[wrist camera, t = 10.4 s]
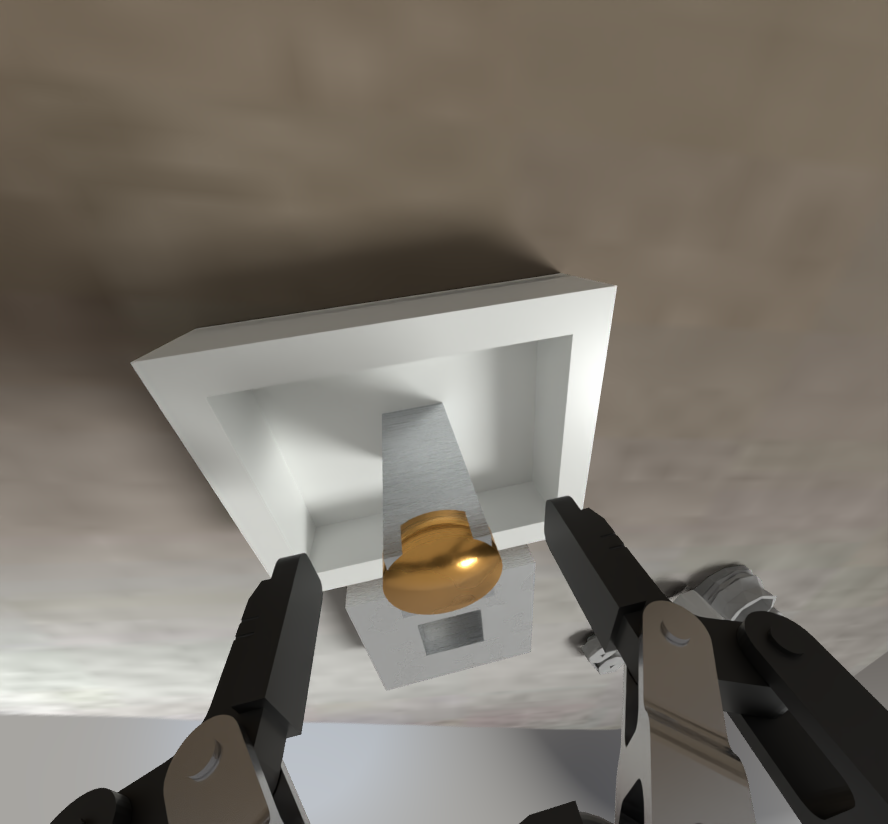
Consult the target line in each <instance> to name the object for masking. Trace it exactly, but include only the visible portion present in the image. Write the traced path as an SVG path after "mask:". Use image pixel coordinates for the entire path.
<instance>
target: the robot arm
mask: <svg viewBox="0 0 888 824" xmlns="http://www.w3.org/2000/svg"><path fill="white" fill-rule="evenodd" d="M544 535H545V539H546V542H547V545H548V547H549V549H550V551H551V553H552V555H553V556H554V558H555V560H556V562H557V564H558V566H559V568H560V570H561V571H562V573H563V575H564V577H565V579H566V581H567V583H568V584H569V586H570V588H571V590H572V592H573V594H574V596H575V597H576V599H577V601H578V603H579V605H580V607H581V609H582V611H583V612H584V614H585V616H586V618H587V620H588V622H589V624H590V625H591V627H592V629H593V631H594V633H595V635H596V637H597V639H598V640H599V642H600V644H601V646H602V648H603V650H604V652H605V653H607V652H611V651H615V650H618V652H619V654H620V655H621V657H622V659H623V661H624V673H623V703H622V733H621V735H622V736H621V751H620V758H619V763H618V770H617V781H616V799H615V824H756V821H755V816H754V810H753V805H752V799H751V794H750V789H749V784H748V780H747V776H746V773H745V770H744V767H743V765H742V762H741V761H740V759H739V757H738V756H737V755H736V754H734V753H733V752H732V750H731V748H730V745H729V742H728V739H727V733H726V727H725V720H724V714H723V711H725V712H727V713H728V715H729V716H730V718H731V719H732V720H733V722H734V723H735V725H736V726H737V728H738V729H739V731H740V732H741V734H742V735H743V737H744V738H745V740H746V741H747V743H748V744H749V746H750V747H751V749H752V750H753V752H754V753H755V755H756V756H757V758H758V759H759V761H760V762H761V763H762V765H763V767H764V768H765V770H766V771H767V772H768V774H769V775H770V777H771V778H772V780H773V781H774V783H775V784H776V786H777V787H778V789H779V790H780V792H781V793H782V794H783V796H784V798H785V799H786V801H787V802H788V804H789V805H790V807H791V808H792V809H793V811H794V813H795V814H796V815H797V817H798V819H799V820H800V822H801V823H802V824H888V711H887V710H886V709H885V708H884V707H883V706H882V705H881V704H880V703H879V702H878V701H877V700H876V699H875V698H874V697H873V696H872V695H871V694H870V693H869V692H868V691H867V690H866V689H865V688H864V687H863V686H862V685H861V684H860V683H859V682H858V681H857V680H856V679H855V678H854V677H853V676H852V675H851V674H850V673H849V672H848V671H847V670H846V669H845V668H844V667H843V666H842V665H841V664H840V663H839V662H838V661H837V660H836V659H835V658H834V657H833V656H832V655H831V654H830V653H829V652H828V651H827V650H826V649H825V648H824V647H823V646H822V645H821V644H820V643H819V642H818V641H817V640H816V639H815V638H814V637H813V636H812V635H810V634H809V633H808V632H807V631H806V630H805V629H803V628H802V627H801V626H799V625H798V624H796V623H795V622H793V621H791V620H789V619H788V618H786V617H783V616H781V615H779V614H776V613H772V612H768V611H755V612H751V613H750V614H748V615H747V617H746V618H745V620H744V621H743V622H741V621H732V620H722V619H713V618H705V617H700V616H697V615H694V614H692V613H691V612H690V611H688V610H687V609H685V608H684V607H682V606H680V605H678V604H675V603H673V602H671V601H670V600H669V599H668V598H667V597H666V596H665V595H664V594H663V593H662V592H661V591H660V589H659V588H658V587H657V585H656V584H655V583H654V582H653V580H652V579H651V578H650V577H649V575H648V574H647V573H646V571H645V570H644V569H643V568H642V566H641V565H640V564H639V562H638V561H637V560H636V559H635V557H634V556H633V555H632V554H631V552H630V551H629V550H628V548H627V547H625V546H624V543H623V542H622V541H621V540H620V538H619V537H618V536H617V535H615V532H614V531H613V529H612V528H611V527H610V526H609V524H608V523H607V522H606V520H605V519H604V518H603V517H601V516H600V515H598V514H597V513H595V512H594V511H593V510H591V509H590V508H586V509H582V510H581V509H580V508H579V507H578V505H577V504H576V502H575V501H574V500H573V498H572V497H570V496H563V497H558V498H554V499H549V500H547V501H546V506H545V520H544ZM322 596H323V593H322V584H321V580H320V578H319V576H318V574H317V573H316V571H315V569H314V567H313V565H312V563H311V561H310V559H309V557H308V556H307V554H306V553H301V554H296V555H292V556H287V557H283V558H279V559H278V560H277V562H276V564H275V567H274V570H273V574H272V577H271V579H268V580H264V581H261V583H260V584H259V585H258V587H257V588H256V590H255V591H254V593H253V594H252V595H251V597H250V598H249V600H248V602H247V605H246V608H245V611H244V614H243V616H242V619H241V620H242V622H241V623H240V625H239V628H238V630H237V633H236V639H235V640H234V642H233V644H232V647H231V650H230V653H229V655H228V658H227V661H226V664H225V667H224V669H223V672H222V675H221V678H220V681H219V683H218V686H217V689H216V692H215V695H214V697H213V700H212V703H211V706H210V708H209V711H208V713H207V715H206V717H205V719H204V721H203V722H202V724H201V725H199V726H198V727H197V728H196V729H195V730H194V731H193V732H192V733H191V734H190V735H189V736H188V737H187V738H186V739H185V741H184V742H183V743H182V745H181V746H180V748H179V749H178V751H177V752H176V754H175V755H174V756H173V757H172V758H170V759H169V760H167V761H166V762H165V763H163V764H162V765H160V766H159V767H157V768H155V769H154V770H152V771H151V772H149V773H148V774H146V775H144V776H143V777H141V778H140V779H138V780H136V781H135V782H133V783H132V784H130V785H128V786H127V787H125V788H124V789H122V790H121V791H119V792H114V791H112V790H109V789H106V788H98V789H94V790H92V791H90V792H87V793H86V794H84V795H82V796H81V797H79V798H77V799H76V800H75V801H74V802H72V803H71V804H70V805H68V806H67V807H66V808H65V809H64V810H63V811H62V812H61V813H60V814H59V815H58V816H57V817H56V818H55V819H54V820H53V821H52V822H51V823H50V824H310V822H309V819H308V817H307V815H306V813H305V810H304V808H303V806H302V803H301V801H300V799H299V796H298V794H297V791H296V789H295V787H294V784H293V782H292V780H291V777H290V775H289V773H288V771H287V768H286V766H285V764H284V761H283V760H282V758H283V752H284V747H285V742H286V738H289V737H293V736H297V735H301V731H302V726H303V720H304V713H305V707H306V701H307V694H308V688H309V681H310V675H311V669H312V662H313V656H314V650H315V643H316V637H317V630H318V624H319V618H320V611H321V605H322ZM520 824H613V823H611V822H609V821H607V820H605V819H603V818H601V817H599V816H595V815H592V814H589V813H586V812H579V810H578V807H577V805H576V801H572V802H569V803H566V804H563V805H560V806H557V807H554V808H550V809H547V810H544V811H541V812H538V813H535V814H532V815H529V816H528V817H527V818H525V819H524V820H523V821H522V822H521V823H520Z"/></svg>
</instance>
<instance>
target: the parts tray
mask: <svg viewBox="0 0 888 824" xmlns="http://www.w3.org/2000/svg"><path fill="white" fill-rule="evenodd" d="M616 289H617V285H612V284H608V283H603V282H599V281H594V280H590V279H585V278H581V277H576V276H572V275H567V274H563V273H559V274H553V275H546V276H539V277H533V278H526V279H520V280H513V281H506V282H500V283H493V284H487V285H480V286H473V287H467V288H460V289H454V290H447V291H440V292H434V293H427V294H421V295H414V296H407V297H401V298H394V299H388V300H381V301H374V302H368V303H361V304H355V305H348V306H341V307H335V308H328V309H322V310H315V311H308V312H302V313H295V314H289V315H282V316H275V317H269V318H262V319H256V320H249V321H242V322H236V323H229V324H223V325H216V326H209V327H203V328H196V329H194V330H192V331H190V332H188V333H186V334H184V335H182V336H180V337H178V338H176V339H175V340H173V341H171V342H169V343H167V344H165V345H163V346H161V347H159V348H157V349H155V350H153V351H151V352H149V353H148V354H146V355H144V356H142V357H140V358H138V359H136V360H134V361H132V362H130V363H131V365H132V366H133V368H134V369H135V371H136V372H137V374H138V376H139V377H140V379H141V380H142V382H143V383H144V385H145V386H146V388H147V389H148V391H149V392H150V394H151V395H152V397H153V398H154V400H155V402H156V403H157V405H158V406H159V408H160V409H161V411H162V412H163V414H164V415H165V417H166V418H167V420H168V421H169V423H170V424H171V426H172V427H173V429H174V431H175V432H176V434H177V435H178V437H179V438H180V440H181V441H182V443H183V444H184V446H185V447H186V449H187V450H188V452H189V453H190V455H191V456H192V458H193V460H194V461H195V463H196V464H197V466H198V467H199V469H200V470H201V472H202V473H203V475H204V476H205V478H206V479H207V481H208V482H209V484H210V485H211V487H212V489H213V490H214V492H215V493H216V495H217V496H218V498H219V499H220V501H221V502H222V504H223V505H224V507H225V508H226V510H227V511H228V513H229V515H230V516H231V518H232V519H233V521H234V522H235V524H236V525H237V527H238V528H239V530H240V531H241V533H242V534H243V536H244V537H245V539H246V540H247V542H248V544H249V545H250V547H251V548H252V550H253V551H254V553H255V554H256V556H257V557H258V559H259V560H260V562H261V563H262V565H263V566H264V568H265V569H266V571H267V573H268V574H269V576H270V577H272V574H273V570H274V567H275V564H276V562H277V560H278V559H279V558H283V557H287V556H292V555H296V554H301V553H306V554H307V556H308V557H309V559H310V561H311V563H312V565H313V567H314V569H315V571H316V573H317V574H318V576H319V578H320V580H321V584H322V591H326V590H331V589H335V588H339V587H344V586H348V585H352V584H356V583H361V582H365V581H369V580H374V579H378V578H382V577H383V564H382V553H383V471H382V414H383V413H389V412H394V411H399V410H405V409H410V408H416V407H421V406H427V405H432V404H437V403H443V405H444V408H445V411H446V413H447V416H448V419H449V422H450V424H451V427H452V430H453V432H454V435H455V438H456V441H457V443H458V446H459V449H460V451H461V454H462V457H463V460H464V462H465V465H466V468H467V470H468V473H469V476H470V479H471V481H472V484H473V487H474V489H475V492H476V495H477V498H478V500H479V503H480V506H481V508H482V511H483V514H484V517H485V519H486V522H487V525H488V526H489V528H490V530H491V533H492V535H493V538H494V541H495V543H496V546H497V549H498V550H502V549H507V548H511V547H515V546H519V545H524V544H528V543H532V542H537V541H541V540H545V535H544V520H545V506H546V501H547V500H549V499H554V498H558V497H563V496H570V497H572V498H573V500H574V501H575V502H576V504H577V505H578V507H579V508H580V509H581V510H582V509H583V504H584V497H585V491H586V484H587V478H588V471H589V465H590V458H591V452H592V445H593V439H594V432H595V426H596V419H597V413H598V406H599V400H600V393H601V387H602V380H603V374H604V367H605V361H606V354H607V348H608V341H609V335H610V328H611V322H612V315H613V309H614V302H615V296H616Z"/></svg>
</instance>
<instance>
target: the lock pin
mask: <svg viewBox="0 0 888 824" xmlns="http://www.w3.org/2000/svg"><path fill="white" fill-rule="evenodd" d="M382 471H383V553H382V564H383V592H384V595H385V597H386V598H387V600H388V601H389V602H390V603H391V604H392V605H393V606H395V607H396V608H398V609H400V610H401V613H402V616H403V618H406V617H410V616H414V615H418V614H421V615H433V614H442V613H447V612H452V611H455V610H458V609H461V608H464V607H466V606H468V605H471V604H472V603H474V602H476V601H478V600H479V599H483V598H487V597H491V596H495V594H494V586H495V585H496V583H497V582H498V580H499V578H500V576H501V573H502V567H503V565H502V559H501V557H500V554H499V551H498V549H497V546H496V543H495V541H494V538H493V535H492V533H491V530H490V528H489V526H488V525H487V522H486V519H485V517H484V514H483V511H482V508H481V506H480V503H479V500H478V498H477V495H476V492H475V489H474V487H473V484H472V481H471V479H470V476H469V473H468V470H467V468H466V465H465V462H464V460H463V457H462V454H461V451H460V449H459V446H458V443H457V441H456V438H455V435H454V432H453V430H452V427H451V424H450V422H449V419H448V416H447V413H446V411H445V408H444V405H443V403H437V404H432V405H427V406H421V407H416V408H410V409H405V410H399V411H394V412H389V413H383V414H382Z"/></svg>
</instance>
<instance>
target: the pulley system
mask: <svg viewBox="0 0 888 824" xmlns="http://www.w3.org/2000/svg"><path fill="white" fill-rule="evenodd" d="M776 597H777V596H773V595H772V594H770V593H769V592H767V591H766V590H764V587H763V583H762V580H761V579H760V578H759V577H758V576H756V575H754V576H753V574H752V570H750V569H748V568H747V567H746V566H744V565H739V566H734V567H729V568H724V569H722V570H720V571H718V572H716V573H714V574H712V575H711V576H709V577H708V578H707V579H705V580H704V581H703V582H702V583H701V584H700V585H699V586H698V587H696V588H695V589H694V590H691V591H688V592H685V593H682V594H680V595H679V596H678V597H677V598H676V600H675V601H674V602H673V603H675V604H678V605H680V606H682V607H684V608H685V609H687V610H688V611H690V612H691V613H692V614H694V615H697V616H700V617H705V618H713V619H722V620H724V619H725V620H732V621H741V622H743V621H744V620H745V618H746V617H747V615H748V614H750V613H751V612H755V611H768V612H772V613H776V614H779V615H781V616H783V615H782V614H781V613H780V612H779V611H778V610H776V609H775V608H772V607H773V605H774V602H775V600H776ZM587 640H588V642H587V643H586V644H585V645H584V646H583V647H582V648H581V649H582V650H583V652H584V654H585V656H586V657H587V659H588V661H589V662H590V663H591V664H592V665H593V666H594V667H595V668H596V670H597V671H598V672H599V674H606V673H610V672H615V671H616V670H618V669H619V668H620V667H621V666H622V665H623V664H624V661H623V659H622V657H621V655H620V654H619V652H618V651H617V650H615V651H611V652H607V653H605V652H604V650H603V648H602V646H601V644H600V642H599V640H598V639H597V637H596V635H592V636H590V637H588V639H587Z"/></svg>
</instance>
